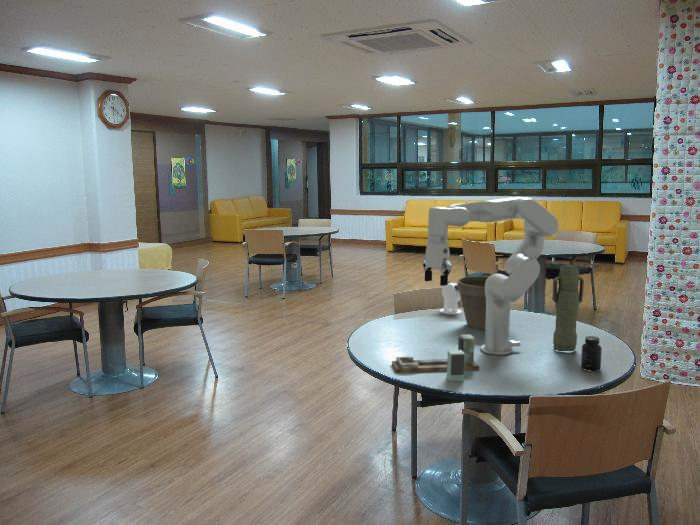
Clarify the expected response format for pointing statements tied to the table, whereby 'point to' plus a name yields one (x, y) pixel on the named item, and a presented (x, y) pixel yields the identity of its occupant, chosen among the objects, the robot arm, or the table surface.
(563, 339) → the thermos
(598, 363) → the supplement bottle
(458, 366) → the pale green block
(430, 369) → the rail
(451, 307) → the white rounded piece
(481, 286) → the plant pot
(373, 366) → the table surface
